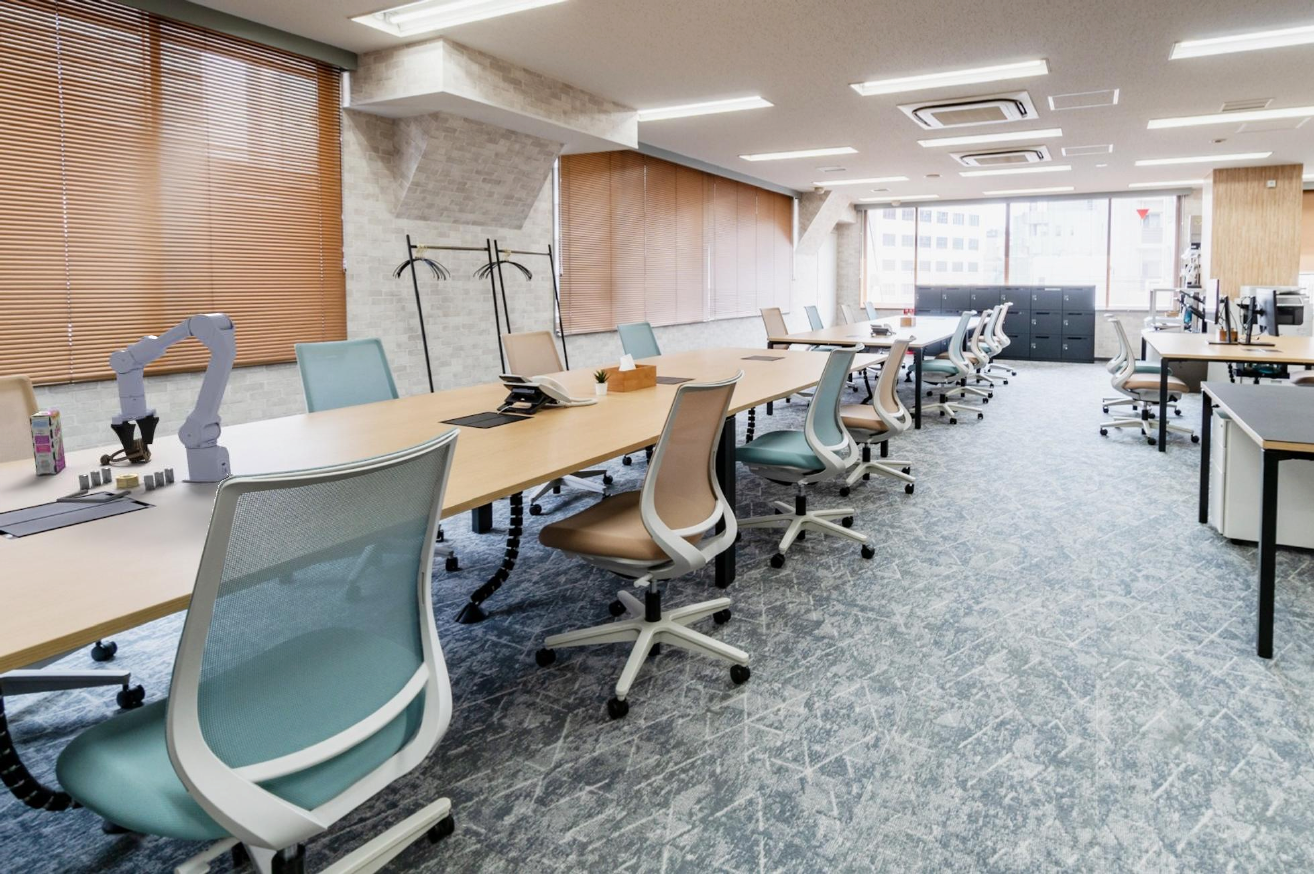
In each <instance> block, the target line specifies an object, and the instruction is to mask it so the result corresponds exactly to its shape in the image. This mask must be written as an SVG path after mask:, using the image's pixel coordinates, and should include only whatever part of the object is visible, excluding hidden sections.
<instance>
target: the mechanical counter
mask: <svg viewBox="0 0 1314 874" xmlns="http://www.w3.org/2000/svg"><path fill="white" fill-rule="evenodd" d="M148 445H149V444H144V443H143V441H142V437H139V438H136V439H134V449H133V450H124V448H121V449H119V450H117V451H115V452H114V453H112V454H105V453H104V454H103V455H102V456H101V457H100V458H99V459H100V460H99V461H100V464H101V465H103V466H107V465H109V464H110V462H112V463H119V462H124V461H127V460H128V461H129V462H130V463H131V464H134V463H138V462H140V461H145V463H149V462H150V459H151V456H152V452H151V451H150V449H149V448H150V447H149V446H148ZM122 453H125V456H122V457H118V458H115V457H117V456H119V455H120V454H122Z"/></svg>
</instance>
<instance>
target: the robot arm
mask: <svg viewBox="0 0 1314 874" xmlns="http://www.w3.org/2000/svg"><path fill="white" fill-rule="evenodd" d="M236 329H237V326H236V325H235V324H234V322H233V320H232V318H230V317H229V316H228V315H227V314H225V313H224V312H216V313H205V314H203V313H198V314H195V315H193V316H192V317H188V318H186V319H184V320H183V321H182V322H180V323H178V324H176V325H175V326H174V327H172V328H171V329H169V330H167V331H165V332H164V333H162V334H161V335H158V336H155V335H143V336H141V337H140V341H138V342H136V343H135V344H129V345H128V344H127V346H126V348H125V350H120V349H119V350H115V351H114V352H113V353H112V354H111V355H110V356H109V361H108V363H109V367H110V368H111V369H112V371H114V372H115V374H116V381H117V389H118V397H119V406H120V411H121V412H118V413H117V415H114V416H111V422H112V423H110V428H111V429H112V430H113V432H114V433H115V434H116V435H117V437H118V439H119V440H120V443H121V445H122V449H124V450H133V449H134V440H135V439H134V436H135V431H136V430H135V429H136V426H138V430H139V431H140V435H141V438H142V441H143V443H144V444H148V445H153V443H154V439H155V438H154V436H155V431H156V428H157V425H158V424H159V422H160V417H159V416H157V409H156V408H147V402H146V401H147V400H146V392H145V385H144V377H143V376H144V369H145V368H146V366H147V365H148V364H150V363H152V362H154V361H155V360H157V359H159V358H161V357H162V356H165V355H166V353H167V349H168V348H169V347H171V346H174V345H175V344H178V343H179V342H181V341H183V340H186V339H188V338H189V337H190V338H191V337H195V339H197V340H198V341H199V342H200V343H201V344H202V345H204V346H205V348H207V349H208V351H209V352H210V359H209V360H208V364H207V368H206V371H205V374H204V377H203V381H202V384H201V387H200V390H199V394H198V397H197V399H196V404H195V406H194V409H193V410H192V411H191V413H190V414H188V416H186V419H185V422H184V423H183V425H181V426H180V427H179V428H178V433H177V436H178V439H179V441H180V443H181V444H182V445H184V449H185V450H186V460H187V469H188V470H187V471H188V477H185V478H183V479H181V482H199V483H200V482H203V483H204V482H205V483H206V482H208V483H209V482H210V483H211V482H213V483H214V482H215V483H216V482H218V481H222V480H225V479H226V477H227V478H229V477H232V476H233V473H232V471H231V462H230V453H229V451H228V448H227V447H226V446H224V445H223V446H221V445H218V439H219V438H220V436H221V434H222V427H221V422H222V417H221V416H220V415H219V411H220V406H221V405H222V404H221V403H222V401H223V397H224V394H225V391H226V387H227V384H228V382H229V379H230V376H231V372H232V369H233V366H234V362H235V359H236V356H237V353H238V351H237V350H238V349H237V342H236V338H235V332H236ZM133 421H135V423H130V422H133ZM231 473H232V474H231ZM227 474H228V475H227ZM228 476H229V477H228Z"/></svg>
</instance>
